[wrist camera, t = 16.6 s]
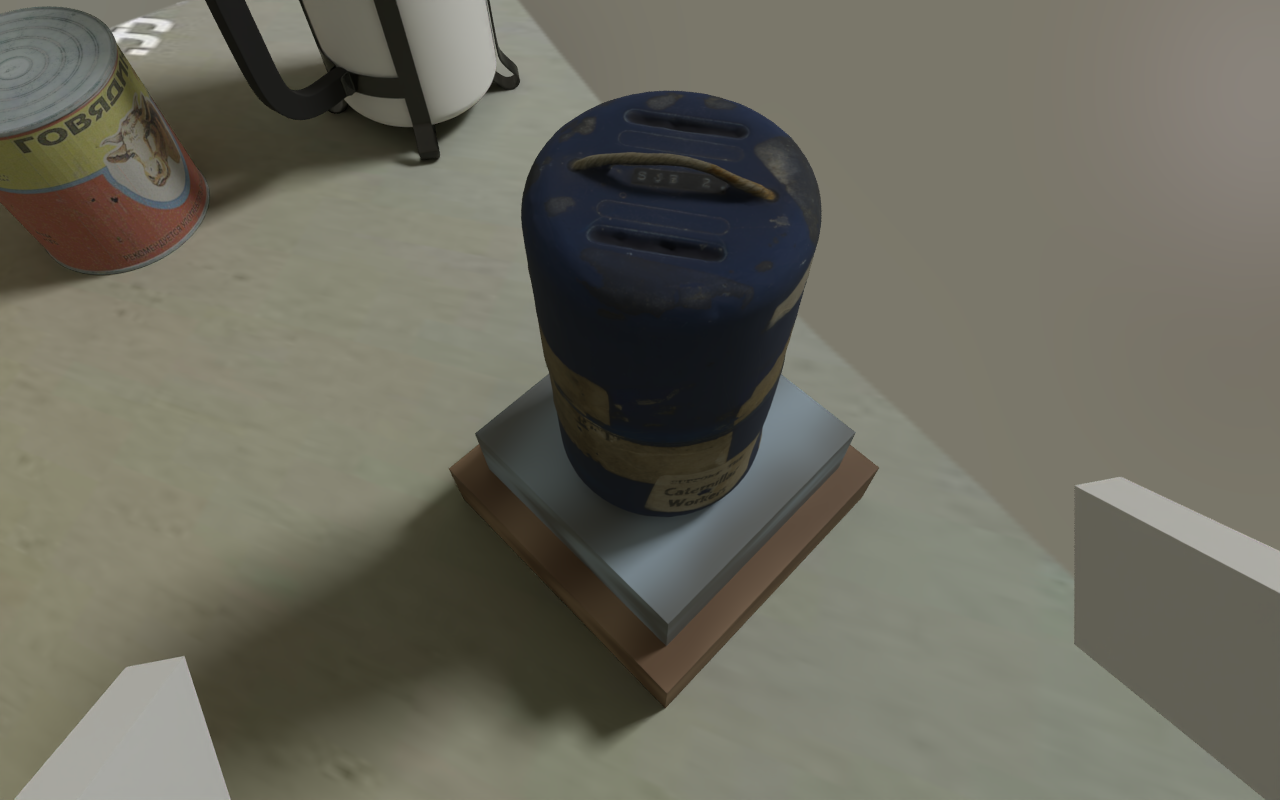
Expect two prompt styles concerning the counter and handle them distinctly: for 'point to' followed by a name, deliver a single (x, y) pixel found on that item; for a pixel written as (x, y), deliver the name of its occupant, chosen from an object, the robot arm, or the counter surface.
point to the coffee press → (379, 60)
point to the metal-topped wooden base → (664, 531)
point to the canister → (667, 289)
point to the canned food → (89, 147)
